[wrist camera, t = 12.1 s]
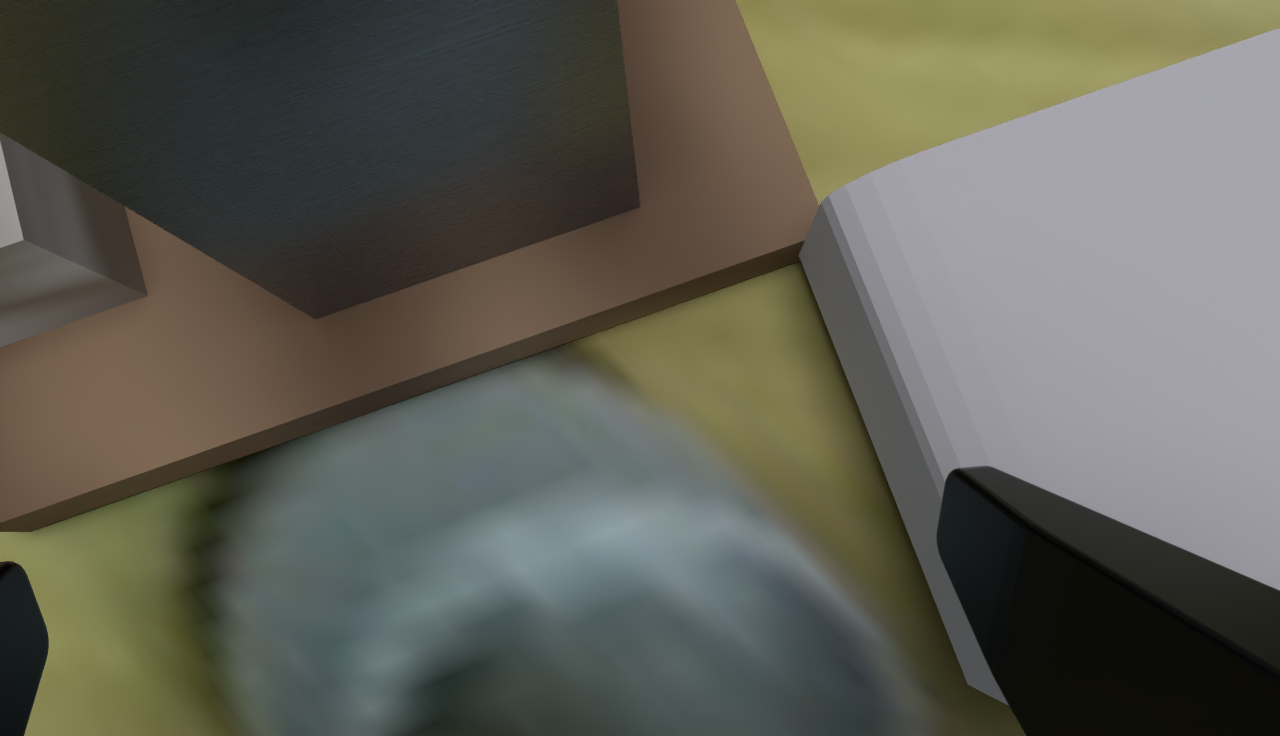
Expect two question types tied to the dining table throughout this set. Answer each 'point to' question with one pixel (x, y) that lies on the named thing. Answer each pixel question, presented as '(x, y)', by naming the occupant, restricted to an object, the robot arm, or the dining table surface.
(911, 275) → the charger
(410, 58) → the dark grey tall block
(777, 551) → the dining table surface
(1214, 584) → the robot arm
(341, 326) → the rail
